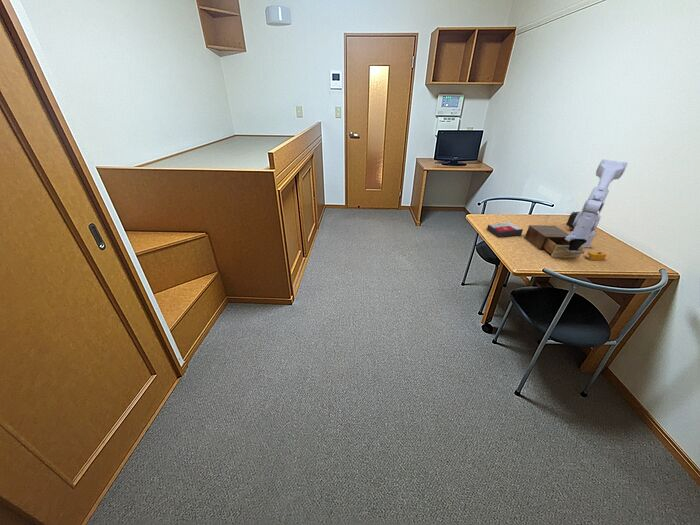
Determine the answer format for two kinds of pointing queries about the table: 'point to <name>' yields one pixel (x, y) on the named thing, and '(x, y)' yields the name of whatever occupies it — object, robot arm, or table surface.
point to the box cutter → (595, 255)
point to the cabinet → (543, 234)
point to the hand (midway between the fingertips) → (571, 252)
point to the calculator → (504, 229)
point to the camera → (572, 219)
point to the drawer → (561, 248)
